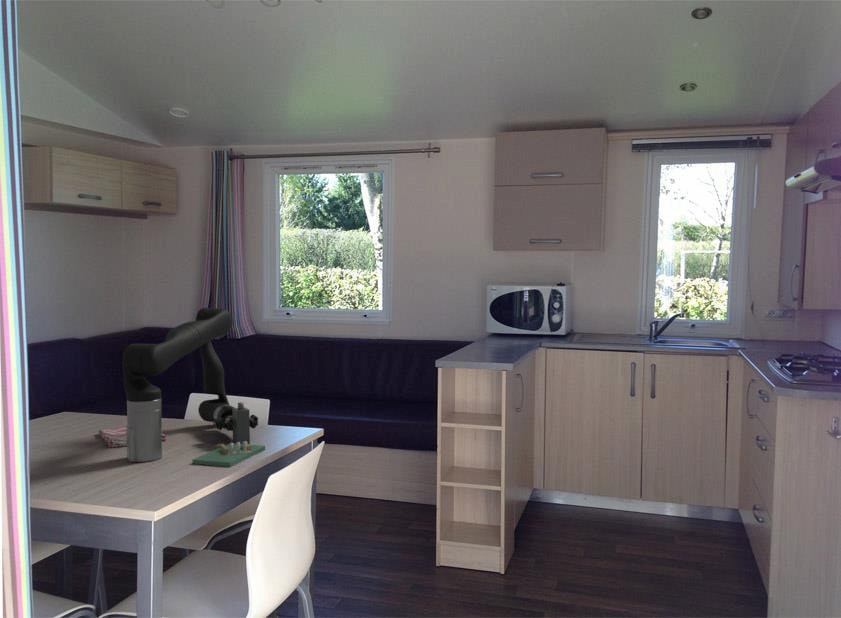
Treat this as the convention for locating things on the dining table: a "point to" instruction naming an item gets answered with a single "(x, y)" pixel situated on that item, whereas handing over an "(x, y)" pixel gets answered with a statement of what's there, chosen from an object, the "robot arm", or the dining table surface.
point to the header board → (229, 454)
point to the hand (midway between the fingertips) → (243, 426)
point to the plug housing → (241, 424)
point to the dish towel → (117, 437)
